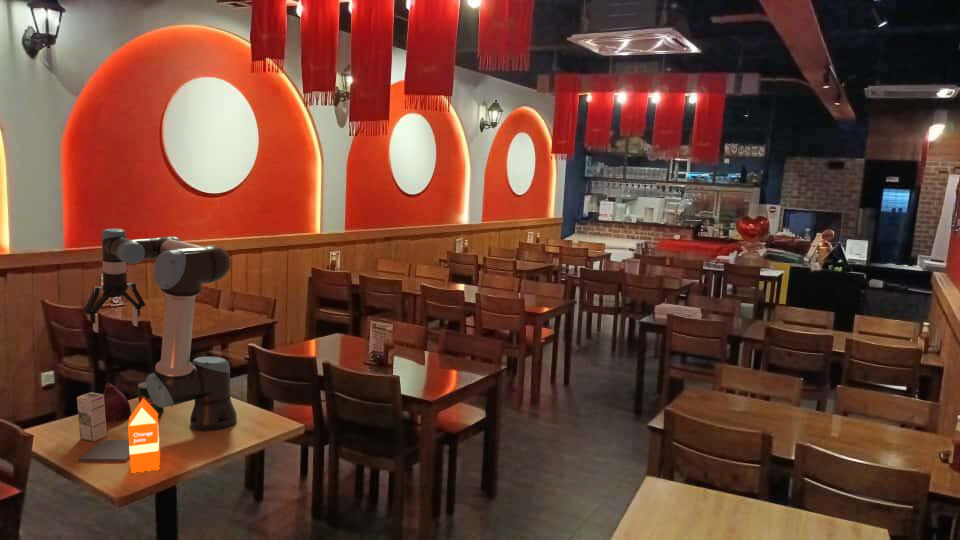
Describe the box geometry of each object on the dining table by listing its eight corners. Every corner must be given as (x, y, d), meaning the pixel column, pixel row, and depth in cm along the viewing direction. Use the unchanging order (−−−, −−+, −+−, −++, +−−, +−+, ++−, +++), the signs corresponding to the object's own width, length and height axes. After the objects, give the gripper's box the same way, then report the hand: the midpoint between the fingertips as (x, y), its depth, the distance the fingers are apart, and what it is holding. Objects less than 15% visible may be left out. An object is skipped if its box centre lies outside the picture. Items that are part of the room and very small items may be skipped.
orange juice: (130, 474, 199) (126, 408, 196) (132, 461, 207) (128, 398, 204) (160, 469, 202) (156, 405, 199) (160, 457, 210) (157, 395, 207)
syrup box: (107, 435, 225) (105, 393, 223) (92, 442, 220) (89, 399, 218) (94, 432, 227) (91, 391, 225) (79, 439, 222) (76, 396, 219)
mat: (146, 443, 220) (146, 440, 220) (125, 462, 206) (125, 459, 206) (102, 442, 220) (102, 439, 220) (78, 461, 206) (78, 458, 206)
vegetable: (118, 431, 236) (112, 396, 230) (92, 425, 238) (85, 389, 232) (138, 414, 246) (133, 379, 240) (113, 407, 248) (108, 373, 241)
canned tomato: (159, 407, 251) (158, 379, 249) (166, 413, 245) (165, 384, 244) (136, 412, 246) (134, 383, 244) (143, 419, 240) (141, 389, 238)
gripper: (145, 266, 256) (146, 320, 261) (72, 273, 238) (74, 331, 242) (154, 270, 252) (155, 325, 256) (80, 277, 233) (82, 336, 238)
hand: (115, 328), depth 249 cm, fingers open, 13 cm apart
